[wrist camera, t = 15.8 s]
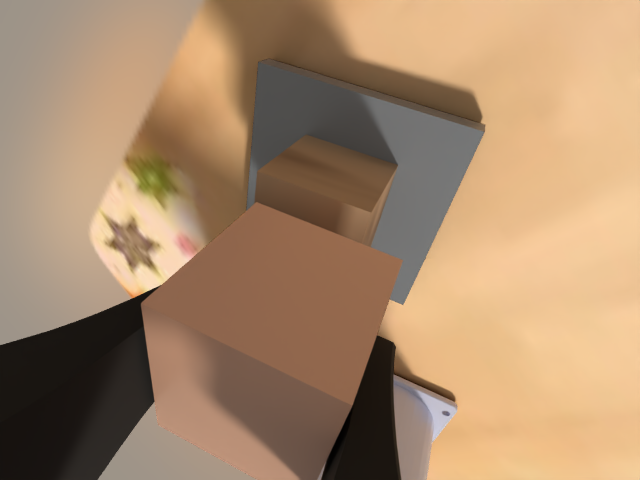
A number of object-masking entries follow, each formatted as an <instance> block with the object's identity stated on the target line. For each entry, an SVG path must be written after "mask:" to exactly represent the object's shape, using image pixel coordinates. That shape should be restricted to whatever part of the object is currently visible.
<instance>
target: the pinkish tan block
mask: <svg viewBox="0 0 640 480" xmlns="http://www.w3.org/2000/svg"><path fill="white" fill-rule="evenodd" d="M402 262H403V260H401V259H399V258H396V257H394V256H391V255H389V254H386V253H384V252H381V251H379V250H376V249H374V248H371V247H368V246H366V245H363V244H361V243H358V242H356V241H353V240H351V239H348V238H346V237H343V236H341V235H338V234H336V233H333V232H331V231H328V230H326V229H323V228H321V227H318V226H316V225H313V224H311V223H308V222H306V221H303V220H300V219H298V218H295V217H293V216H290V215H288V214H285V213H283V212H280V211H278V210H275V209H273V208H270V207H268V206H265V205H263V204H260V203H258V202H256V203H255V204H254V205H252V206H251V207H250V208H249V209H248V210H247V211H246V212H244V213H243V214H242V215H241V216H240V217H239V218H238V219H236V220H235V221H234V222H233V223H232V224H231V225H230V226H228V227H227V228H226V229H225V230H224V231H223V232H222V233H220V234H219V235H218V236H217V237H216V238H215V239H214V240H213V241H211V242H210V243H209V244H208V245H207V246H206V247H205V248H203V249H202V250H201V251H200V252H199V253H198V254H197V255H195V256H194V257H193V258H192V259H191V260H190V261H189V262H187V263H186V264H185V265H184V266H183V267H182V268H181V269H179V270H178V271H177V272H176V273H175V274H174V275H173V276H171V277H170V278H169V279H168V280H167V281H166V282H165V283H163V284H162V285H161V286H160V287H159V288H158V289H157V290H155V291H154V292H153V293H152V294H151V295H150V296H149V297H147V298H146V299H145V300H144V301H143V302H142V303H141V308H142V315H143V322H144V329H145V337H146V344H147V351H148V358H149V365H150V372H151V379H152V386H153V393H154V401H155V408H156V414H157V422H158V425H159V426H161V427H163V428H164V429H166V430H168V431H170V432H172V433H173V434H176V435H177V436H179V437H181V438H182V439H184V440H186V441H188V442H190V443H191V444H193V445H195V446H197V447H199V448H201V449H202V450H204V451H206V452H208V453H210V454H211V455H213V456H215V457H217V458H219V459H220V460H222V461H224V462H226V463H228V464H230V465H231V466H233V467H235V468H237V469H239V470H240V471H242V472H244V473H246V474H248V475H249V476H251V477H253V478H255V479H257V480H317V479H318V477H319V475H320V473H321V471H322V468H323V466H324V464H325V462H326V460H327V458H328V456H329V454H330V452H331V450H332V447H333V445H334V443H335V441H336V439H337V437H338V435H339V433H340V431H341V429H342V426H343V424H344V422H345V420H346V418H347V416H348V414H349V412H350V410H351V408H352V405H353V402H354V400H355V397H356V394H357V391H358V388H359V385H360V382H361V379H362V377H363V374H364V371H365V368H366V365H367V362H368V359H369V357H370V354H371V351H372V348H373V345H374V342H375V339H376V336H377V334H378V331H379V328H380V325H381V322H382V319H383V316H384V313H385V311H386V308H387V305H388V302H389V299H390V296H391V293H392V290H393V288H394V285H395V282H396V279H397V276H398V273H399V270H400V268H401V265H402Z"/></svg>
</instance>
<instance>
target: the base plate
mask: <svg viewBox="0 0 640 480" xmlns="http://www.w3.org/2000/svg"><path fill="white" fill-rule="evenodd" d="M484 132H485V125H484V124H481V123H478V122H475V121H471V120H468V119H465V118H462V117H458V116H455V115H452V114H448V113H445V112H442V111H439V110H435V109H432V108H429V107H426V106H422V105H419V104H416V103H413V102H409V101H406V100H403V99H399V98H396V97H393V96H390V95H386V94H383V93H380V92H377V91H373V90H370V89H367V88H363V87H360V86H357V85H354V84H350V83H347V82H344V81H341V80H337V79H334V78H331V77H327V76H324V75H321V74H318V73H314V72H311V71H308V70H305V69H301V68H298V67H295V66H291V65H288V64H285V63H282V62H278V61H275V60H272V59H266V60H263V61H259V62H258V72H257V84H256V97H255V109H254V122H253V134H252V146H251V159H250V171H249V183H248V196H247V208H246V211H247V210H248V209H249V208H250V207H251V206H252V205H254V201H255V190H256V178H257V171H258V170H259V169H261V168H262V167H263V166H265V165H266V164H267V163H269V162H270V161H271V160H273V159H274V158H275V157H277V156H278V155H279V154H281V153H282V152H283V151H285V150H286V149H287V148H289V147H290V146H291V145H293V144H294V143H295V142H297V141H298V140H299V139H301V138H302V137H303V136H305V135H309V136H312V137H315V138H318V139H321V140H324V141H327V142H330V143H333V144H336V145H339V146H342V147H345V148H348V149H351V150H354V151H357V152H360V153H363V154H366V155H369V156H372V157H375V158H378V159H381V160H384V161H387V162H390V163H393V164H396V165H398V167H397V170H396V173H395V176H394V179H393V182H392V185H391V188H390V191H389V194H388V197H387V200H386V203H385V206H384V209H383V212H382V215H381V218H380V221H379V224H378V227H377V230H376V233H375V236H374V239H373V242H372V245H371V248H374V249H376V250H379V251H381V252H384V253H386V254H389V255H391V256H394V257H396V258H399V259H401V260H403V262H402V265H401V268H400V270H399V273H398V276H397V279H396V282H395V285H394V288H393V290H392V293H391V296H390V300H393V301H395V302H397V303H400V304H402V305H403V304H404V302H405V300H406V298H407V296H408V294H409V292H410V290H411V287H412V285H413V283H414V281H415V279H416V277H417V275H418V272H419V270H420V268H421V266H422V264H423V262H424V260H425V258H426V255H427V253H428V251H429V249H430V247H431V245H432V243H433V241H434V238H435V236H436V234H437V232H438V230H439V228H440V226H441V224H442V221H443V219H444V217H445V215H446V213H447V211H448V209H449V207H450V204H451V202H452V200H453V198H454V196H455V194H456V192H457V190H458V187H459V185H460V183H461V181H462V179H463V177H464V175H465V173H466V170H467V168H468V166H469V164H470V162H471V160H472V158H473V156H474V153H475V151H476V149H477V147H478V145H479V143H480V141H481V139H482V136H483V134H484Z"/></svg>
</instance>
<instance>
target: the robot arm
mask: <svg viewBox="0 0 640 480" xmlns="http://www.w3.org/2000/svg"><path fill="white" fill-rule="evenodd" d="M160 286H161V285H160ZM160 286H158V287H156V288H154V289H152V290H150V291H147V292H145V293H143V294H141V295H139V296H137V297H135V298H132V299H130V300H128V301H125V302H123V303H121V304H119V305H116V306H114V307H112V308H109V309H107V310H104V311H102V312H100V313H97V314H94V315H92V316H89V317H87V318H84V319H81V320H79V321H76V322H73V323H70V324H67V325H65V326H62V327H59V328H56V329H53V330H50V331H47V332H44V333H40V334H37V335H34V336H30V337H27V338H23V339H20V340H17V341H13V342H10V343H6V344H3V345H0V480H98V478H99V476H100V475H101V474H102V472H103V471H104V470H105V468H106V467H107V465H108V464H109V462H110V461H111V460H112V458H113V457H114V455H115V454H116V452H117V451H118V450H119V448H120V447H121V445H122V444H123V442H124V441H125V440H126V438H127V437H128V436H129V434H130V433H131V431H132V430H133V429H134V427H135V426H136V425H137V423H138V422H139V420H140V419H141V418H142V416H143V415H144V414H145V413H146V411H147V410H148V409H149V408H150V406H151V405H152V404H153V403H154V402H155V401H154V393H153V386H152V379H151V372H150V365H149V358H148V351H147V344H146V337H145V329H144V322H143V315H142V308H141V303H142V302H143V301H144V300H145V299H146V298H147V297H149V296H150V295H151V294H152V293H153V292H154V291H155V290H157V289H158V288H159V287H160ZM395 349H396V347H395V345H394V343H393V342H391V341H389V340H386V339H384V338H382V337H380V336H376V339H375V342H374V345H373V348H372V351H371V354H370V357H369V359H368V362H367V365H366V368H365V371H364V374H363V377H362V379H361V382H360V385H359V388H358V391H357V394H356V397H355V400H354V402H353V405H352V408H351V410H350V412H349V414H348V416H347V418H346V420H345V422H344V424H343V426H342V429H341V431H340V433H339V435H338V437H337V439H336V441H335V443H334V445H333V447H332V450H331V452H330V454H329V456H328V458H327V460H326V462H325V464H324V466H323V468H322V471H321V473H320V475H319V477H318V479H317V480H427V474H428V467H429V460H430V453H431V446H432V442H433V441H434V440H435V439H436V437H437V436H438V435H439V434H440V432H441V431H442V430H443V429H444V427H445V426H446V425H447V424H448V422H449V421H450V420H451V419H452V417H453V416H454V415H455V414H456V412H457V404H456V403H455V402H453V401H452V400H449V399H447V398H445V397H443V396H440V395H438V394H436V393H434V392H432V391H429V390H427V389H425V388H423V387H421V386H418V385H416V384H414V383H412V382H410V381H407V380H405V379H403V378H401V377H398V376H396V375H394V357H395Z"/></svg>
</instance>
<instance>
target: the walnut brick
mask: <svg viewBox="0 0 640 480" xmlns="http://www.w3.org/2000/svg"><path fill="white" fill-rule="evenodd" d="M397 167H398V165H396V164H393V163H390V162H387V161H384V160H381V159H378V158H375V157H372V156H369V155H366V154H363V153H360V152H357V151H354V150H351V149H348V148H345V147H342V146H339V145H336V144H333V143H330V142H327V141H324V140H321V139H318V138H315V137H312V136H309V135H305V136H303V137H302V138H301V139H299V140H298V141H297V142H295V143H294V144H293V145H291V146H290V147H289V148H287V149H286V150H285V151H283V152H282V153H281V154H279V155H278V156H277V157H275V158H274V159H273V160H271V161H270V162H269V163H267V164H266V165H265V166H263V167H262V168H261V169H259V170H258V171H257V178H256V190H255V201H254V204H255V203H256V202H258V203H260V204H263V205H265V206H268V207H270V208H273V209H275V210H278V211H280V212H283V213H285V214H288V215H290V216H293V217H295V218H298V219H300V220H303V221H306V222H308V223H311V224H313V225H316V226H318V227H321V228H323V229H326V230H328V231H331V232H333V233H336V234H338V235H341V236H343V237H346V238H348V239H351V240H353V241H356V242H358V243H361V244H363V245H366V246H368V247H371V245H372V242H373V239H374V236H375V233H376V230H377V227H378V224H379V221H380V218H381V215H382V212H383V209H384V206H385V203H386V200H387V197H388V194H389V191H390V188H391V185H392V182H393V179H394V176H395V173H396V170H397Z"/></svg>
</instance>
